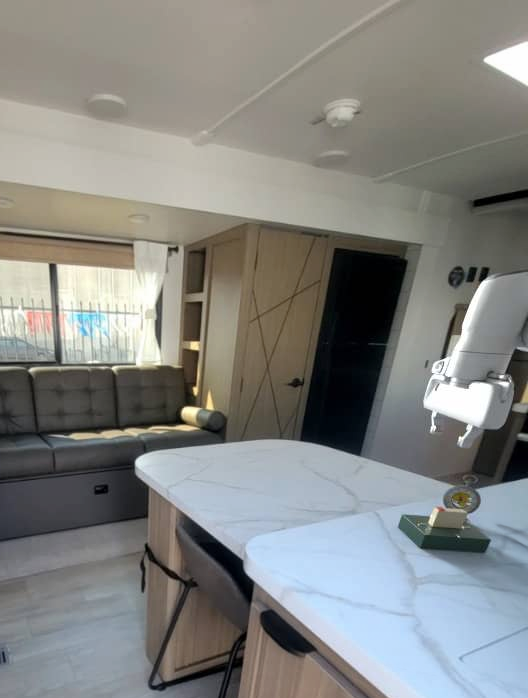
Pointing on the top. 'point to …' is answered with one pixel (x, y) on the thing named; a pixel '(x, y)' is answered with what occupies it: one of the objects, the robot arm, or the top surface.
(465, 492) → the pocket watch
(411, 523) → the dark green flat block
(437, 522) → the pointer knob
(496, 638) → the top surface
